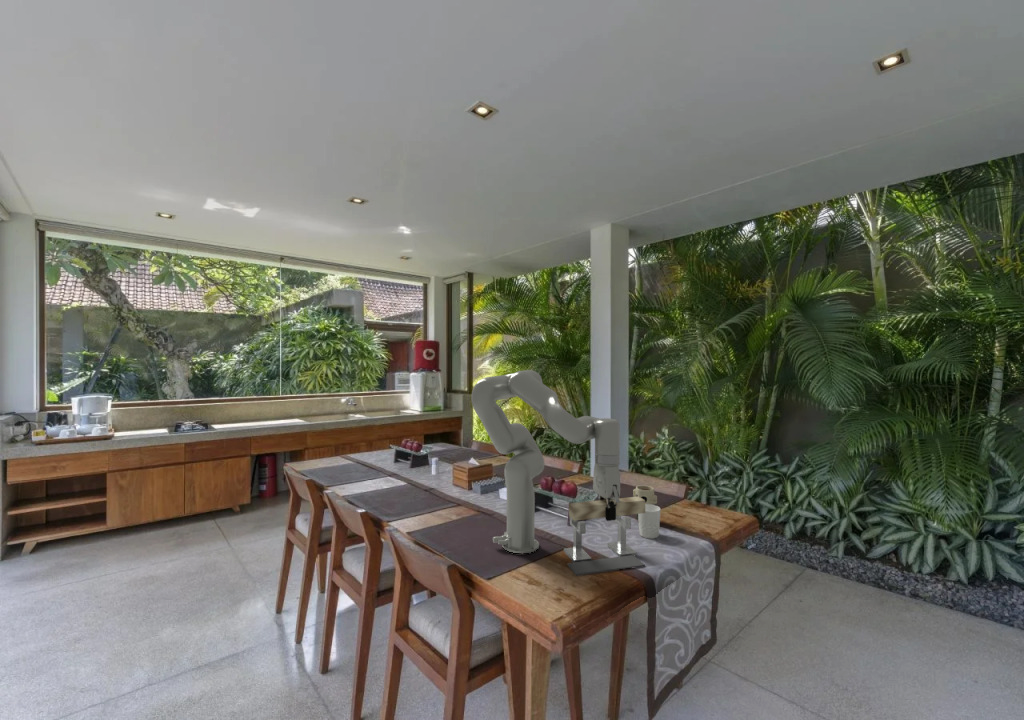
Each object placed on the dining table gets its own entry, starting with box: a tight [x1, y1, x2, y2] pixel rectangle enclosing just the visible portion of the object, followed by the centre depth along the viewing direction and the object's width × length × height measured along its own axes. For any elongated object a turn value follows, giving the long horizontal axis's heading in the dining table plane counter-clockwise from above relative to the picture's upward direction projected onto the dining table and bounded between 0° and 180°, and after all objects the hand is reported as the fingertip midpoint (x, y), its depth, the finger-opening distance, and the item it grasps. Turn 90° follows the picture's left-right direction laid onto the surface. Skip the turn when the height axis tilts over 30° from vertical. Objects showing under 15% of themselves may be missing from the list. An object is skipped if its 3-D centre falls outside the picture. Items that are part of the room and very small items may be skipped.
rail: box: [568, 496, 645, 521], centre depth 145 cm, size 24×4×4 cm, turn 105°
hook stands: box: [563, 515, 638, 563], centre depth 154 cm, size 22×9×12 cm, turn 105°
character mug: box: [632, 484, 658, 521], centre depth 184 cm, size 11×7×13 cm, turn 39°
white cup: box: [637, 504, 661, 539], centre depth 170 cm, size 8×8×10 cm
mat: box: [567, 555, 646, 576], centre depth 146 cm, size 23×7×1 cm, turn 105°
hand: (607, 516), depth 145 cm, fingers closed on rail, 4 cm apart
